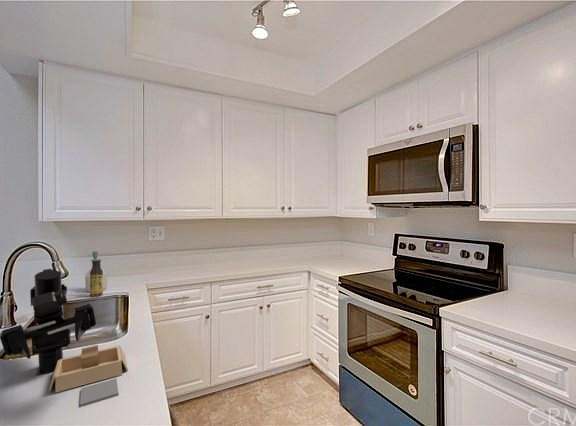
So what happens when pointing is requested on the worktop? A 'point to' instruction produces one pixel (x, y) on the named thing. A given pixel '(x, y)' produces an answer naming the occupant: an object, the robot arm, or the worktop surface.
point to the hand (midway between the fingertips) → (53, 347)
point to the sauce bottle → (96, 279)
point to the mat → (98, 392)
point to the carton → (88, 369)
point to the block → (89, 357)
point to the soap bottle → (87, 277)
